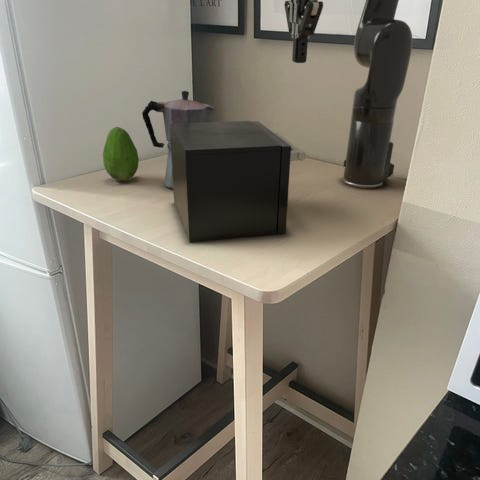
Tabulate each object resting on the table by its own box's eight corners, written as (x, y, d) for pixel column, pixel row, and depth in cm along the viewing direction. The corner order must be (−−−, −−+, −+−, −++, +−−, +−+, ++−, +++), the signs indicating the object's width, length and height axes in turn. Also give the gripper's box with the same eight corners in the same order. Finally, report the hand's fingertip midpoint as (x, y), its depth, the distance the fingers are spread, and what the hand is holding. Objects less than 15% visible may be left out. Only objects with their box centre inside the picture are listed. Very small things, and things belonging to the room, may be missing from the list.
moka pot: (220, 189, 112) (219, 93, 101) (152, 195, 108) (143, 95, 97) (210, 177, 119) (209, 86, 108) (146, 182, 116) (137, 88, 105)
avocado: (123, 187, 112) (117, 132, 105) (99, 181, 116) (91, 127, 109) (147, 179, 118) (143, 125, 111) (123, 173, 121) (117, 121, 115)
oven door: (273, 196, 108) (276, 120, 99) (305, 232, 92) (312, 144, 83) (249, 198, 107) (250, 121, 98) (277, 234, 91) (282, 146, 82)
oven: (248, 199, 107) (250, 120, 98) (276, 235, 91) (281, 145, 82) (174, 204, 104) (169, 123, 95) (189, 243, 87) (185, 150, 79)
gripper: (345, -60, 76) (332, 66, 85) (313, -54, 87) (305, 58, 96) (299, -62, 74) (291, 67, 84) (272, -55, 85) (268, 59, 95)
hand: (299, 62), depth 90 cm, fingers closed
